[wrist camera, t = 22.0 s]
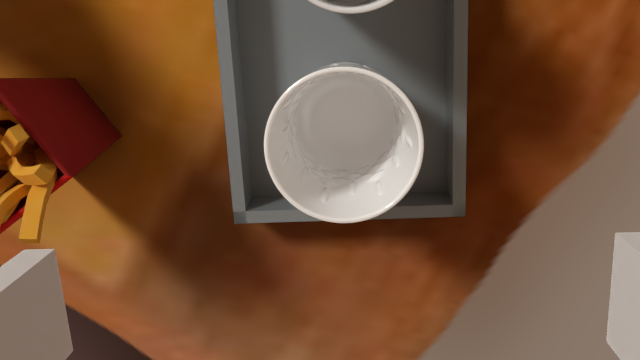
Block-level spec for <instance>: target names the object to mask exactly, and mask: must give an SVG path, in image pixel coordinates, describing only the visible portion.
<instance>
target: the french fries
mask: <svg viewBox="0 0 640 360" xmlns="http://www.w3.org/2000/svg"><path fill="white" fill-rule="evenodd" d="M120 137H121V134H120V133H119V132H118V131H117V129H116V128H115V127H114V126H113V125H112V123H111V122H110V121H109V120H108V119H107V117H106V116H105V115H104V114H103V112H102V111H101V110H100V109H99V108H98V106H97V105H96V104H95V103H94V102H93V100H92V99H91V98H90V97H89V95H88V94H87V93H86V92H85V91H84V89H83V88H82V87H81V86H80V85H79V83H78V82H77V81H76V80H75V79H62V78H0V234H1V233H2V232H3V231H5V230H6V229H7V228H8V227H10V226H11V225H12V224H13V223H15V222H16V221H17V220H19V219H20V218H21V217H22V216H23V218H22V224H21V229H20V235H19V240H20V241H21V242H22V243H40V238H41V231H42V224H43V219H44V214H45V210H46V205H47V202H48V199H49V197H50V194H52V193H53V192H54V191H56V190H57V189H58V188H59V187H61V186H62V185H63V184H64V183H66V182H67V181H68V180H70V179H71V178H72V177H73V176H75V175H76V174H77V173H78V172H79V171H81V170H82V169H83V168H84V167H85V166H87V165H88V164H89V163H90V162H91V161H93V160H94V159H95V158H96V157H97V156H99V155H100V154H101V153H102V152H103V151H104V150H106V149H107V148H108V147H109V146H110V145H112V144H113V143H114V142H115V141H116V140H118V139H119V138H120Z"/></svg>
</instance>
